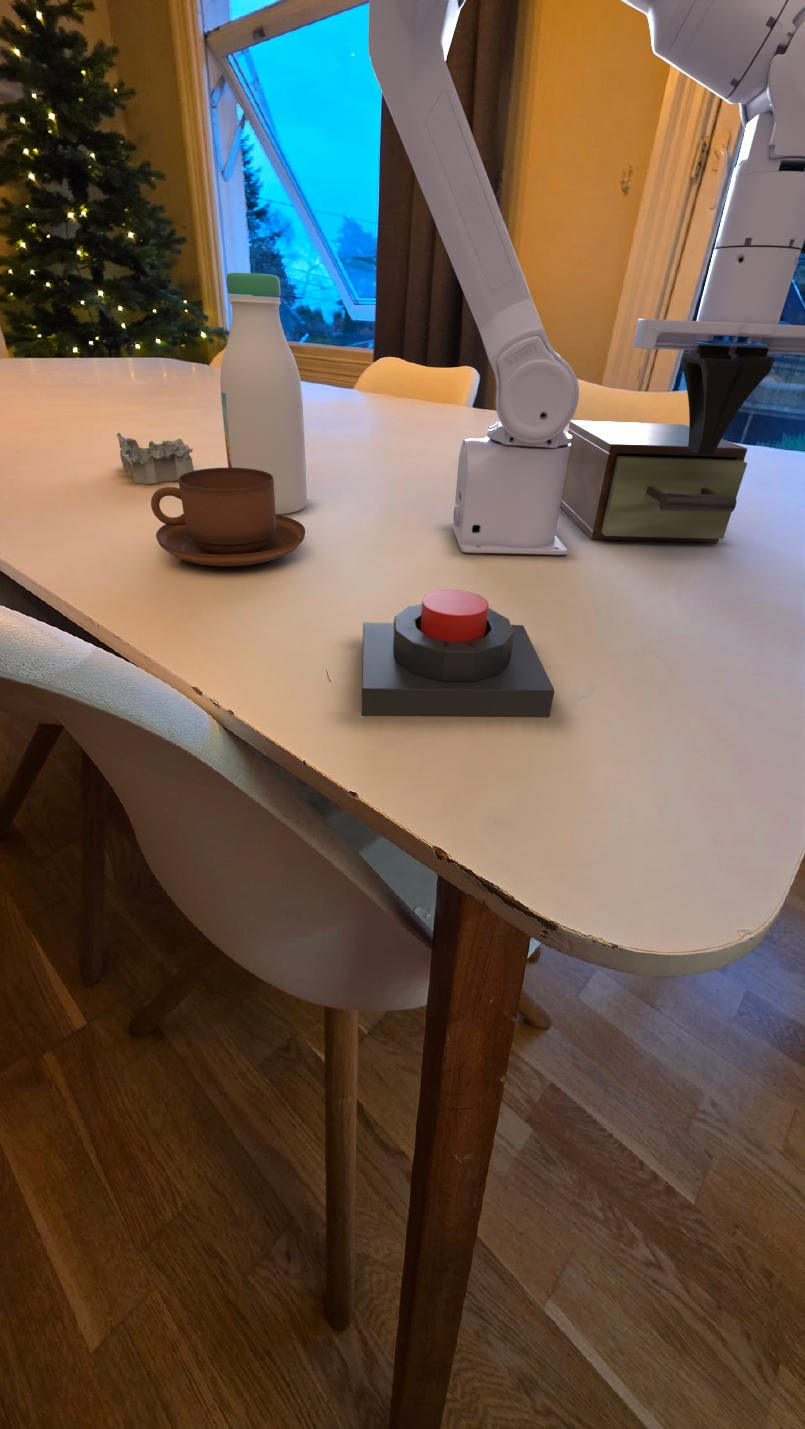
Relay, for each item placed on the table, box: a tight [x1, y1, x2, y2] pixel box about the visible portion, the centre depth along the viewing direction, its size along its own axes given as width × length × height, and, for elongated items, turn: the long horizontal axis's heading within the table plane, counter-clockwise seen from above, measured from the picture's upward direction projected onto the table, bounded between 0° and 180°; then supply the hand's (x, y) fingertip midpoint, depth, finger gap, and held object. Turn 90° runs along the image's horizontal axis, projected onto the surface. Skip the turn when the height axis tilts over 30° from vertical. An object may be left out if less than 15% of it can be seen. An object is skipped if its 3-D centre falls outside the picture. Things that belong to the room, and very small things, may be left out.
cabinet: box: [560, 420, 748, 544], centre depth 64 cm, size 14×13×9 cm
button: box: [421, 589, 490, 642], centre depth 34 cm, size 4×4×2 cm
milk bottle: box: [219, 272, 308, 515], centre depth 60 cm, size 8×8×20 cm
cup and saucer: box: [150, 467, 306, 567], centre depth 51 cm, size 12×12×6 cm
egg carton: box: [116, 432, 195, 485], centre depth 74 cm, size 11×8×4 cm
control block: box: [361, 603, 555, 718], centre depth 35 cm, size 10×8×4 cm
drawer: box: [601, 454, 748, 540], centre depth 60 cm, size 17×11×7 cm, turn 3°
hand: (700, 452), depth 52 cm, fingers closed
